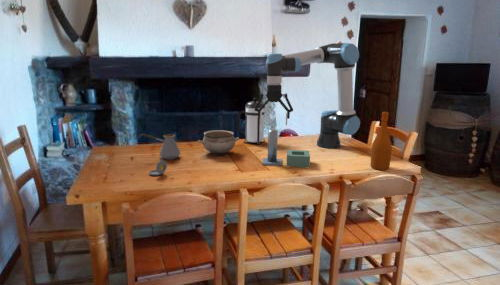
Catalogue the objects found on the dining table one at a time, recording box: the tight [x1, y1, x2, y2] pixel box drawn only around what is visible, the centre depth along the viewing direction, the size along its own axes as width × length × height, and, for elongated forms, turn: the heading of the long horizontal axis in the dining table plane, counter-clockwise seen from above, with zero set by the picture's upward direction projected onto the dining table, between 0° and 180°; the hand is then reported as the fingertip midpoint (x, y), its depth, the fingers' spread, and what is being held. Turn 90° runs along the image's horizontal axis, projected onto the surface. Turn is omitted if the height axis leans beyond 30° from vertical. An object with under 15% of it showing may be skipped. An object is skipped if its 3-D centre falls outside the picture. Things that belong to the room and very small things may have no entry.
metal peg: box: [267, 129, 279, 162], centre depth 197 cm, size 5×5×17 cm
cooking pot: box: [197, 129, 240, 156], centre depth 214 cm, size 25×19×12 cm
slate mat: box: [261, 157, 282, 167], centre depth 199 cm, size 10×10×1 cm
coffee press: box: [236, 97, 267, 146], centre depth 239 cm, size 17×16×30 cm
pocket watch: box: [149, 155, 168, 176], centre depth 176 cm, size 8×8×10 cm
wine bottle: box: [370, 111, 393, 171], centre depth 189 cm, size 10×10×30 cm
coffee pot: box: [139, 132, 181, 161], centre depth 202 cm, size 21×12×15 cm, turn 109°
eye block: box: [286, 149, 311, 168], centre depth 197 cm, size 12×12×6 cm
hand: (273, 124), depth 194 cm, fingers open, 13 cm apart
